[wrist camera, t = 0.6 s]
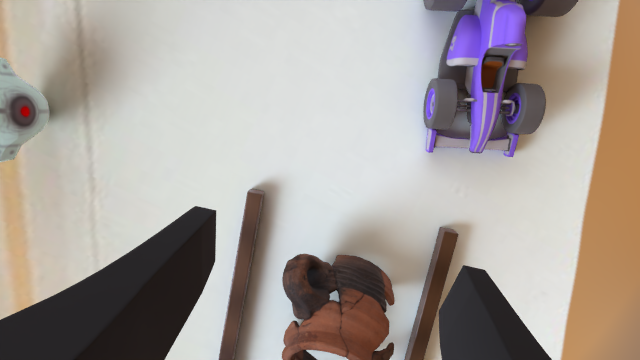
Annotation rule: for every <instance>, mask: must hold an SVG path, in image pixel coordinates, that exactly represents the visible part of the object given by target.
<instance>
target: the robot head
mask: <svg viewBox="0 0 640 360" xmlns="http://www.w3.org/2000/svg"><path fill="white" fill-rule="evenodd" d="M49 112H50V110H49V106H48V102H47V99H46V98H45V97H44V96H43V95H42V94H41V93H40V92H39V91H38V90H37V89H36V88H34V87H33V86H31V85H30V84H29V83H27V82H26V81H24V80H23V79H22V78H20V77H19V76H17V75H16V74H15V72H14V71H13V69H12V68H11V66H10V65H9V63H8V62H7V60H6V59H4V58H0V162H3V161H8V160H12V159H14V158H15V156H16V155H17V153H18V151H19V149H20V147H21V145H22V144H24V143H25V142H27V141H28V140H29V139H31V138H32V137H34V136H35V135H36V134H38V133H39V132H41V130H42V129H43V128H44V127H45V126H46V124H47V123H48V122H49Z"/></svg>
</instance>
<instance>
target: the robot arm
mask: <svg viewBox="0 0 640 360" xmlns="http://www.w3.org/2000/svg"><path fill="white" fill-rule="evenodd" d="M215 244H216V210H211V209H207V208H202V207H198V206H195V207H193V208H192V209H190V210H189V211H188V212H186V213H185V214H183V215H182V216H181V217H179V218H178V219H176V220H175V221H174V222H172V223H171V224H170V225H168V226H167V227H165V228H164V229H163V230H161V231H160V232H158V233H157V234H156V235H154V236H153V237H151V238H150V239H148V240H147V241H145V242H144V243H142V244H141V245H139V246H138V247H136V248H135V249H133V250H132V251H130V252H129V253H127V254H126V255H124V256H122V257H121V258H119V259H118V260H116V261H114V262H113V263H111V264H109V265H108V266H106V267H105V268H103V269H101V270H100V271H98V272H96V273H94V274H93V275H91V276H89V277H87V278H86V279H84V280H82V281H80V282H78V283H77V284H75V285H73V286H71V287H69V288H67V289H65V290H63V291H61V292H60V293H58V294H56V295H54V296H51V297H49V298H47V299H45V300H43V301H41V302H39V303H36V304H34V305H32V306H30V307H28V308H25V309H23V310H21V311H19V312H17V313H15V314H12V315H10V316H8V317H6V318H4V319H1V320H0V360H164V359H165V358H166V356H167V354H168V352H169V351H170V349H171V347H172V345H173V343H174V342H175V340H176V338H177V336H178V335H179V333H180V331H181V329H182V328H183V326H184V324H185V322H186V321H187V319H188V317H189V315H190V313H191V312H192V310H193V308H194V306H195V304H196V303H197V301H198V299H199V297H200V295H201V294H202V292H203V289H204V287H205V285H206V282H207V280H208V278H209V275H210V273H211V270H212V268H213V265H214V263H215ZM439 334H440V349H441V356H442V360H552V359H551V358H550V357H549V356H548V354H547V353H546V352H545V351H544V349H543V348H542V347H541V346H540V344H539V343H538V342H537V340H536V339H535V338H534V336H533V335H532V334H531V332H530V331H529V330H528V328H527V327H526V326H525V324H524V323H523V322H522V320H521V319H520V318H519V316H518V315H517V314H516V312H515V311H514V309H513V308H512V307H511V305H510V304H509V303H508V301H507V300H506V298H505V297H504V296H503V294H502V293H501V291H500V290H499V289H498V287H497V286H496V284H495V283H494V282H493V280H492V279H491V278H490V276H489V275H488V274H487V272H486V271H485V270H482V269H478V268H473V267H469V266H464V265H463V267H462V269H461V271H460V272H459V274H458V276H457V278H456V280H455V282H454V284H453V286H452V288H451V289H450V291H449V293H448V295H447V297H446V299H445V301H444V303H443V305H442V306H441V308H440V310H439Z"/></svg>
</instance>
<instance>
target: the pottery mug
mask: <svg viewBox="0 0 640 360" xmlns="http://www.w3.org/2000/svg"><path fill="white" fill-rule="evenodd" d="M283 287H284V290H285V293H286V295H287V297H288V298H289V299H290V300H291V302H292V306H293V312H294V315H295V317H296V318H298V319H304V321H303V323H302V324H301V325H300V326H299V325H298V323H297V321H292V322H291V324H290V325H289V327H288V329H287V330H286V331H285V335H284V344H285V346H286V347H285V348H284V350H283V352H282V359H283V360H317V359H316V358H314V357H313V356H312V355H311V354H310V353H308V352H307V351H306V350H318V351H325V352H330V353H333V354H337V355H339V356H342V357H346V358H347V359H349V360H389V359H390V357H391V356H392V355H393V352H394V344H393V343H389V345H388V346H387V347H386V349H383V350H381V351H374V350H375V349H377V348H378V347H379V346H380V344H381V343H382V342H383V341H384V340H385V338H386V337H387V336H388V334H389V321H388V319H387V317H386V315H385V314H384V313H385V312H386V301H385V299H386V300H387V302H388V304H389V305H390V306H391V305H393V304H394V294H393V291H392V284H391V281H390V279H389V278H388V276H387V275H386V274H385V273H384V272H383V271H382V270H381V269H380V268H379V267H377V266H376V265H374V264H373V263H371V262H370V261H367V260H364V259H362V258H360V257H356V256H349V255H338V256H337V257H336V261H335V262H334V263H333V265H332V266H331V265H330V264H329V263H326V262H323V261H321V260H320V259H319V258H317V257H315V256H313V255H308V254H299V255H297V256H295V257H294V258H293V259H291V260H289V261H288V262H287V264H286V267H285V269H284V273H283ZM335 290H337V291H338V294H339V302H337V301H334V300H329V299H330V295H329V294H330V293H332V292H334V291H335Z"/></svg>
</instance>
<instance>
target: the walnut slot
mask: <svg viewBox="0 0 640 360" xmlns="http://www.w3.org/2000/svg"><path fill="white" fill-rule="evenodd" d="M263 197H264V191H260V190H255V189H250V190H249V191H248V192H247V198H246V204H245V210H244V216H243V221H242V227H241V233H240V239H239V244H238V250H237V256H236V262H235V268H234V273H233V279H232V285H231V291H230V296H229V302H228V308H227V314H226V319H225V325H224V331H223V337H222V343H221V348H220V354H219V360H234V357H235V351H236V346H237V340H238V335H239V329H240V324H241V318H242V312H243V307H244V301H245V296H246V290H247V285H248V279H249V274H250V268H251V263H252V257H253V252H254V246H255V241H256V235H257V230H258V224H259V219H260V213H261V208H262V202H263ZM457 237H458V233H457V232H456V231H454V230H453V229H448V228H443V227H440V229H439V233H438V237H437V241H436V244H435V248H434V252H433V255H432V259H431V263H430V267H429V270H428V274H427V278H426V281H425V285H424V289H423V292H422V296H421V300H420V304H419V307H418V311H417V315H416V318H415V322H414V326H413V330H412V333H411V337H410V341H409V344H408V348H407V352H406V355H405V359H404V360H423V359H424V355H425V352H426V348H427V345H428V341H429V337H430V334H431V330H432V327H433V323H434V320H435V316H436V312H437V309H438V305H439V302H440V298H441V294H442V291H443V287H444V284H445V280H446V277H447V273H448V269H449V266H450V262H451V259H452V255H453V252H454V248H455V244H456V241H457Z"/></svg>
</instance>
